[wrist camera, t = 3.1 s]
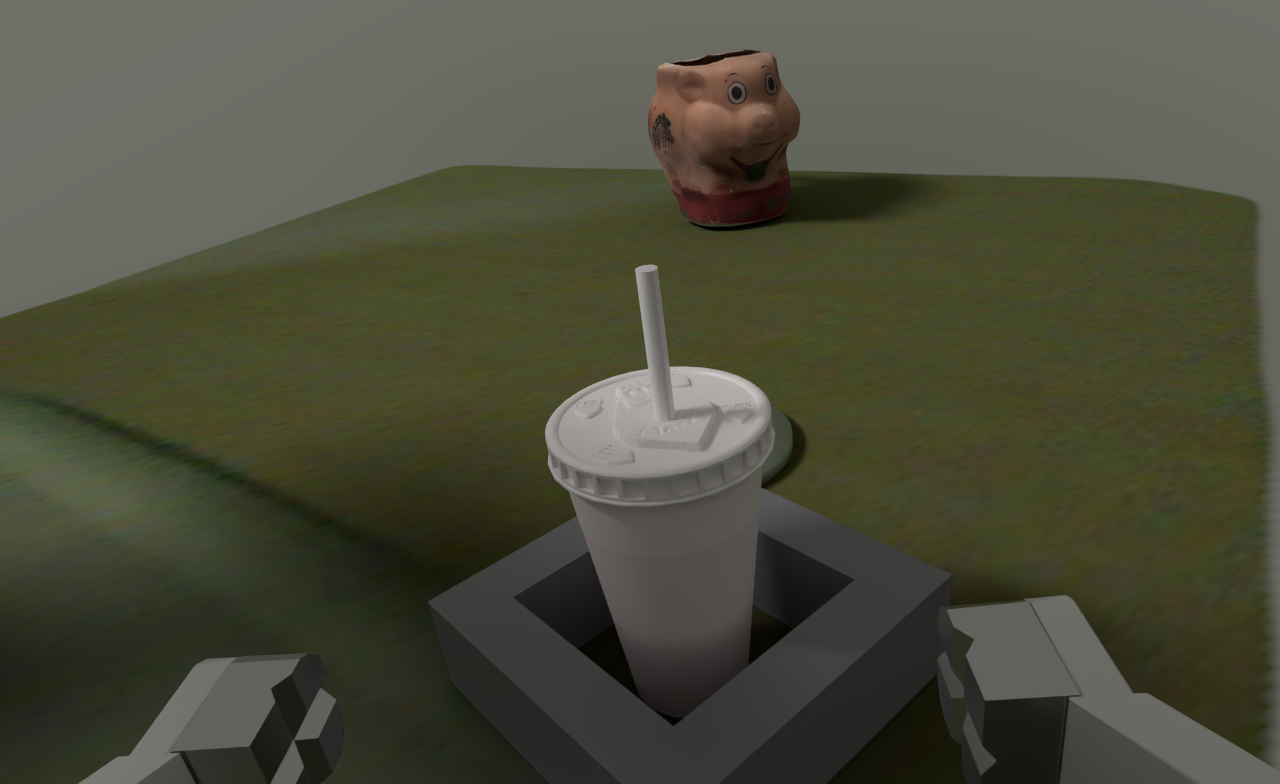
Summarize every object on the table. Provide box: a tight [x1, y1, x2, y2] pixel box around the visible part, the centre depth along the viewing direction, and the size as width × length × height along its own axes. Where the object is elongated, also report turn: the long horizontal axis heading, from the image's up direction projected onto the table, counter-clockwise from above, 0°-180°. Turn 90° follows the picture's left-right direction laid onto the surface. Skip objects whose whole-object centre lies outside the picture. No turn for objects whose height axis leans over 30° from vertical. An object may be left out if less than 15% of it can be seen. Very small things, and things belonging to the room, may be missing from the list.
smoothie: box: [545, 265, 775, 718], centre depth 24 cm, size 6×6×14 cm
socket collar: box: [427, 488, 952, 784], centre depth 27 cm, size 12×12×4 cm
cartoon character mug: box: [648, 50, 800, 227], centre depth 75 cm, size 20×12×14 cm, turn 25°
